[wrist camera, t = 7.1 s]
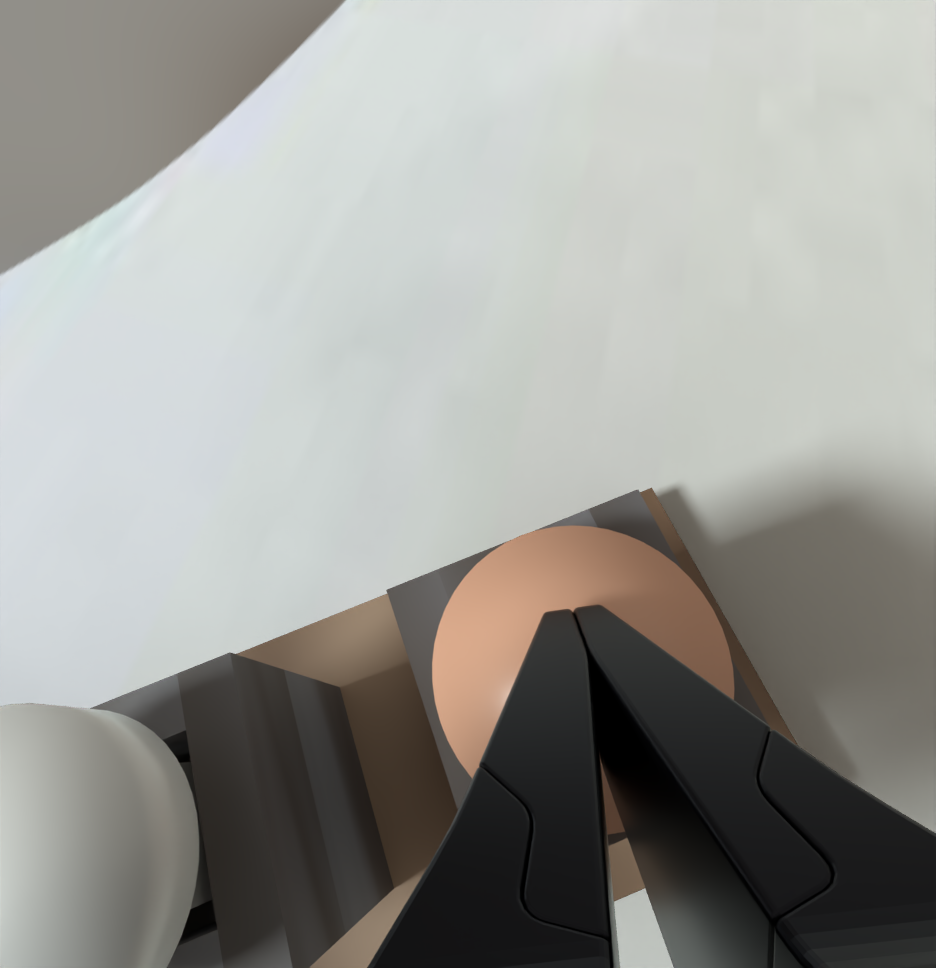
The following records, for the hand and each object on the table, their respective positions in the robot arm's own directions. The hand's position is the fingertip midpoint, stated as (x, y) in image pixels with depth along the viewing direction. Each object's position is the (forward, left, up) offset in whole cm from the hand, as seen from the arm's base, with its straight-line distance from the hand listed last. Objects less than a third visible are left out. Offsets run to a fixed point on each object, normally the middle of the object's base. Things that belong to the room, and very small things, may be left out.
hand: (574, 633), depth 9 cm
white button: (+6, +5, -3) cm, 8 cm away
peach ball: (0, 0, -4) cm, 4 cm away
